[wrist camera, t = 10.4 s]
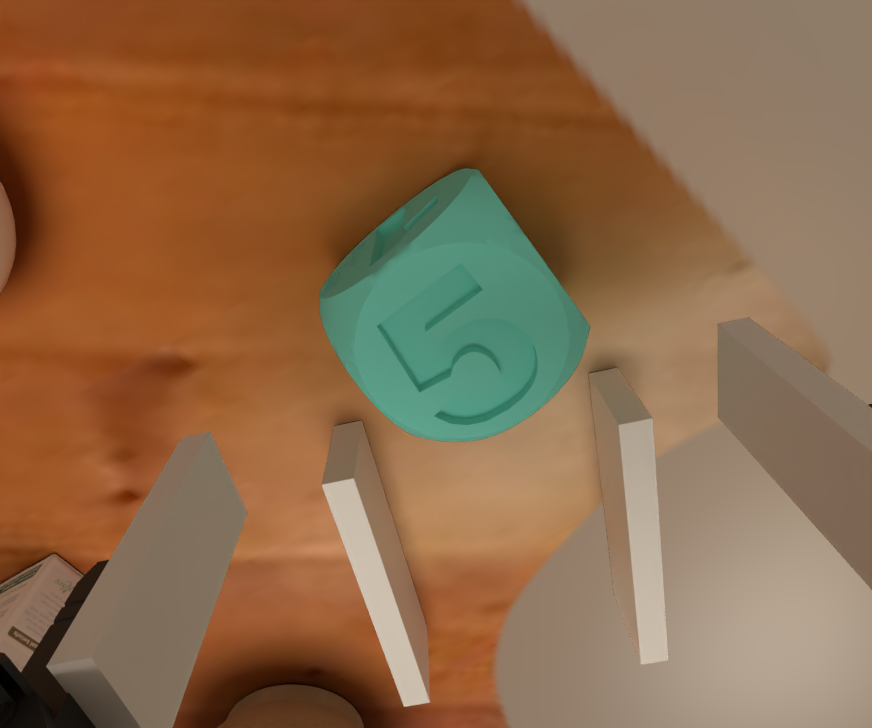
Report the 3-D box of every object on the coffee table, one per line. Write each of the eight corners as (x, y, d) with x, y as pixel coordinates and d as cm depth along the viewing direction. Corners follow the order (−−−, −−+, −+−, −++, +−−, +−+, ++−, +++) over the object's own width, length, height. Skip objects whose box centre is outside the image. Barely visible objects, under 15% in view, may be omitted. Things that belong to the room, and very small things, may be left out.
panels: (637, 589, 38) (668, 660, 33) (404, 633, 39) (404, 706, 34) (617, 367, 31) (652, 418, 26) (334, 426, 32) (321, 484, 27)
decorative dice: (466, 152, 26) (488, 184, 19) (565, 290, 29) (616, 363, 22) (328, 264, 28) (300, 332, 21) (434, 383, 31) (441, 477, 24)
